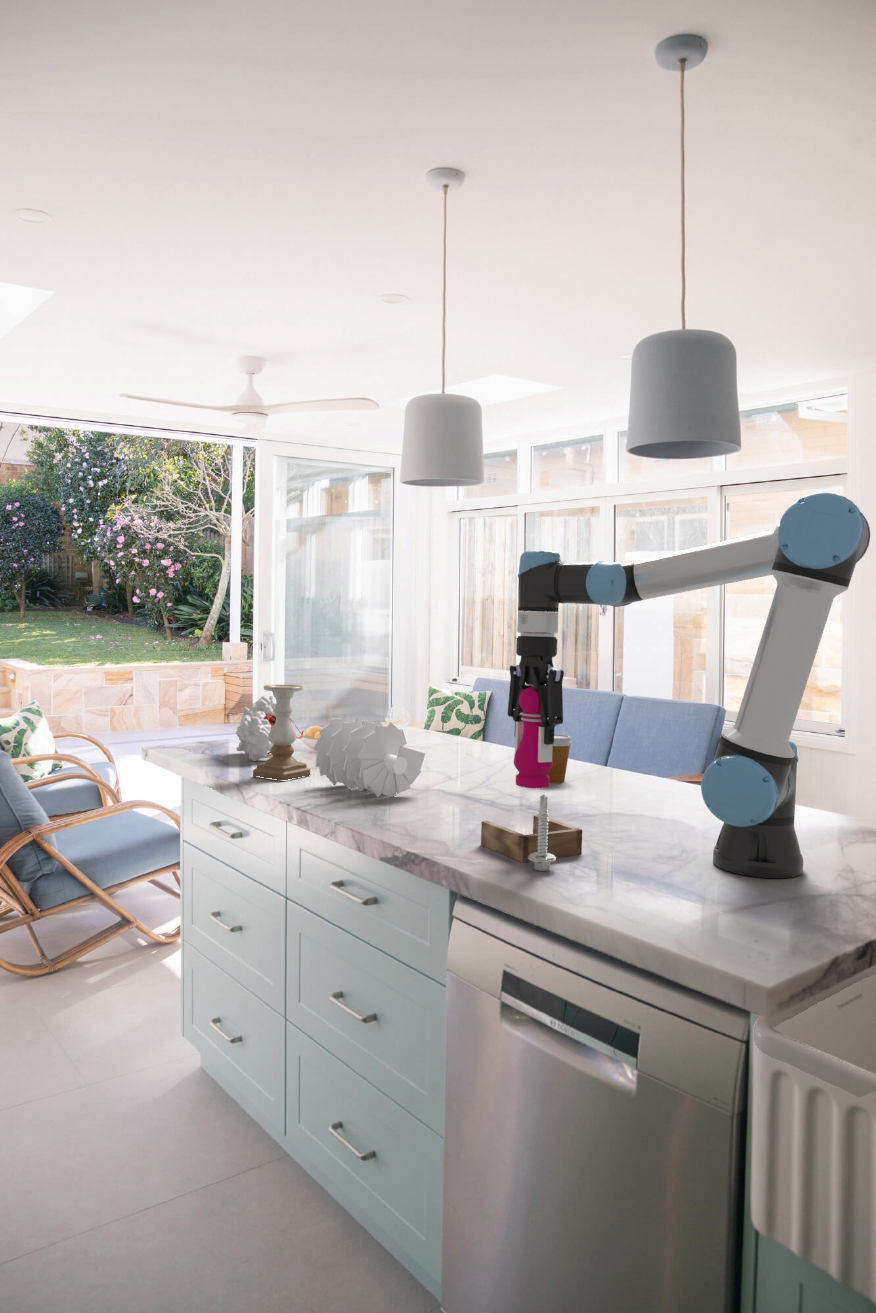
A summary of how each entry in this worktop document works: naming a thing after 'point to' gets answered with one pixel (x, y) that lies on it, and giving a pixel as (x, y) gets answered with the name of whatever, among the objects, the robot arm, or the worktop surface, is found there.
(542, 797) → the screw
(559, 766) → the disposable coffee cup
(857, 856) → the worktop surface
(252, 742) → the protein dna model
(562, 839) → the u rest
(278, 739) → the candle holder
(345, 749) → the spiral staircase
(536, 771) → the pepper mill
